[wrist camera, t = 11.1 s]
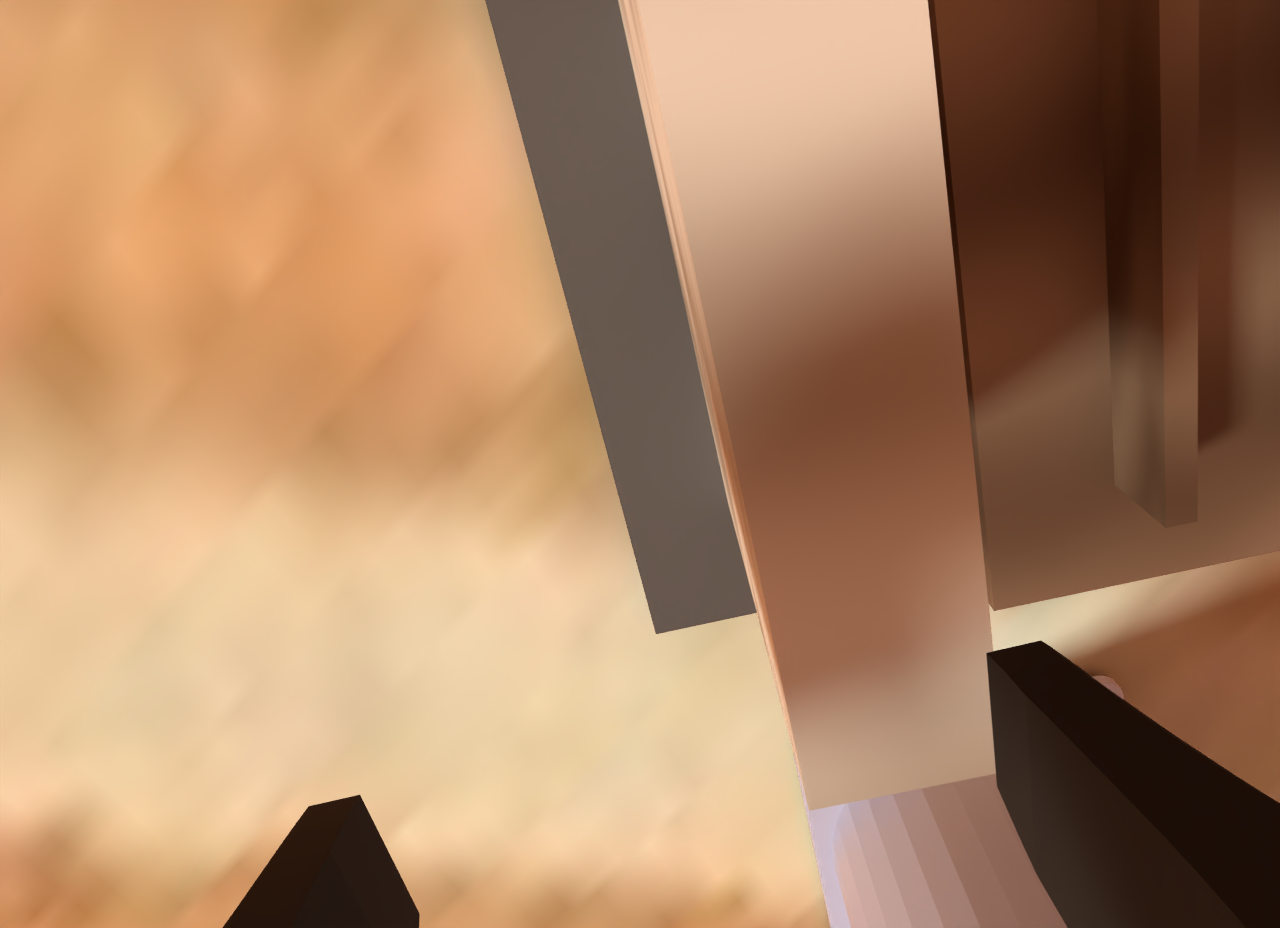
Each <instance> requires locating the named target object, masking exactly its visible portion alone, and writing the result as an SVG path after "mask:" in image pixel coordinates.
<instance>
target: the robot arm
mask: <svg viewBox="0 0 1280 928" xmlns="http://www.w3.org/2000/svg"><path fill="white" fill-rule="evenodd" d="M986 656H987V669H988V681H989V693H990V706H991V718H992V731H993V743H994V756H995V768H996V774H991V775H986V776H981V777H976V778H971V779H966V780H961V781H956V782H951V783H946V784H941V785H936V786H931V787H926V788H921V789H916V790H911V791H906V792H901V793H896V794H891V795H886V796H881V797H876V798H871V799H866V800H861V801H856V802H851V803H846V804H841V805H836V806H831V807H826V808H821V809H816V810H811V811H809V808H808V804H807V801H806V797H805V793H804V789H803V785H802V782H801V778H800V774H799V770H798V766H797V763H796V759H795V763H796V768H797V772H798V777H799V782H800V786H801V791H802V796H803V801H804V805H805V810H806V815H807V819H808V824H809V829H810V833H811V838H812V843H813V847H814V852H815V857H816V862H817V866H818V871H819V876H820V880H821V885H822V890H823V894H824V899H825V904H826V908H827V913H828V918H829V923H830V927H831V928H1280V803H1278V802H1277V801H1275V800H1273V799H1272V798H1270V797H1269V796H1267V795H1265V794H1264V793H1262V792H1261V791H1259V790H1257V789H1256V788H1254V787H1253V786H1251V785H1250V784H1248V783H1246V782H1245V781H1243V780H1242V779H1240V778H1238V777H1237V776H1235V775H1234V774H1232V773H1231V772H1229V771H1228V770H1226V769H1225V768H1223V767H1222V766H1220V765H1219V764H1217V763H1216V762H1214V761H1213V760H1211V759H1210V758H1208V757H1207V756H1205V755H1204V754H1202V753H1201V752H1199V751H1198V750H1196V749H1195V748H1193V747H1192V746H1190V745H1189V744H1187V743H1185V742H1184V741H1182V740H1181V739H1179V738H1178V737H1176V736H1175V735H1174V734H1172V733H1171V732H1169V731H1168V730H1166V729H1165V728H1163V727H1162V726H1160V725H1159V724H1158V723H1156V722H1155V721H1153V720H1152V719H1150V718H1149V717H1147V716H1146V715H1145V714H1143V713H1142V712H1140V711H1139V710H1138V709H1136V708H1135V707H1133V706H1132V705H1131V704H1129V703H1128V702H1126V701H1125V700H1124V695H1123V691H1122V689H1121V688H1120V687H1119V685H1118V684H1117V683H1116V682H1115V681H1114V680H1113V679H1112V678H1111V677H1108V676H1104V675H1102V676H1093V677H1092V676H1090V675H1089V674H1088V673H1086V672H1085V671H1083V670H1082V669H1081V668H1079V667H1078V666H1077V665H1075V664H1074V663H1072V662H1071V661H1070V660H1068V659H1067V658H1066V657H1064V656H1063V655H1061V654H1060V653H1059V652H1057V651H1056V650H1055V649H1053V648H1052V647H1050V646H1049V645H1047V644H1046V643H1044V642H1042V641H1037V642H1033V643H1028V644H1024V645H1020V646H1015V647H1011V648H1006V649H1002V650H997V651H993V652H989V653H986ZM794 758H795V755H794ZM223 928H419V912H418V910H417V908H416V906H415V904H414V902H413V900H412V898H411V896H410V894H409V892H408V890H407V888H406V886H405V884H404V882H403V880H402V878H401V876H400V874H399V872H398V870H397V868H396V866H395V864H394V862H393V860H392V858H391V856H390V854H389V852H388V850H387V848H386V846H385V844H384V842H383V840H382V838H381V836H380V834H379V832H378V830H377V828H376V826H375V824H374V822H373V820H372V818H371V816H370V814H369V812H368V810H367V808H366V806H365V804H364V802H363V800H362V798H361V796H360V795H357V796H353V797H348V798H344V799H339V800H335V801H330V802H326V803H322V804H317V805H313V806H309V807H308V808H307V809H306V811H305V812H304V813H303V815H302V816H301V818H300V819H299V820H298V822H297V823H296V824H295V826H294V827H293V828H292V830H291V831H290V833H289V834H288V835H287V837H286V838H285V840H284V841H283V843H282V844H281V845H280V847H279V848H278V850H277V851H276V853H275V854H274V855H273V857H272V858H271V860H270V861H269V863H268V864H267V865H266V867H265V868H264V870H263V871H262V873H261V874H260V875H259V877H258V878H257V880H256V881H255V883H254V884H253V885H252V887H251V888H250V890H249V891H248V893H247V894H246V896H245V897H244V898H243V900H242V901H241V903H240V904H239V906H238V907H237V908H236V910H235V911H234V913H233V914H232V915H231V917H230V918H229V920H228V921H227V922H226V924H225V925H224V926H223Z"/></svg>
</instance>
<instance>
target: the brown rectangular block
mask: <svg viewBox="0 0 1280 928" xmlns="http://www.w3.org/2000/svg"><path fill="white" fill-rule="evenodd" d="M618 2H619V7H620V11H621V16H622V20H623V25H624V30H625V34H626V39H627V43H628V48H629V52H630V57H631V62H632V66H633V71H634V75H635V80H636V84H637V89H638V94H639V98H640V103H641V107H642V112H643V116H644V121H645V126H646V130H647V135H648V139H649V144H650V148H651V153H652V158H653V162H654V167H655V171H656V176H657V180H658V185H659V190H660V194H661V199H662V203H663V208H664V212H665V217H666V222H667V226H668V231H669V235H670V240H671V244H672V249H673V253H674V258H675V263H676V267H677V272H678V276H679V281H680V285H681V290H682V295H683V299H684V304H685V308H686V313H687V317H688V322H689V327H690V331H691V336H692V340H693V345H694V349H695V354H696V359H697V363H698V368H699V372H700V377H701V381H702V386H703V391H704V395H705V400H706V404H707V409H708V413H709V418H710V423H711V427H712V432H713V436H714V441H715V445H716V450H717V454H718V459H719V464H720V468H721V473H722V477H723V482H724V486H725V491H726V496H727V500H728V505H729V508H730V512H731V516H732V520H733V524H734V527H735V531H736V535H737V539H738V543H739V546H740V550H741V554H742V558H743V562H744V565H745V569H746V573H747V577H748V581H749V584H750V588H751V592H752V596H753V599H754V603H755V607H756V611H757V615H758V618H759V622H760V626H761V630H762V634H763V637H764V641H765V645H766V649H767V653H768V656H769V660H770V664H771V668H772V672H773V675H774V679H775V683H776V687H777V691H778V694H779V698H780V702H781V706H782V709H783V713H784V717H785V721H786V725H787V728H788V732H789V736H790V740H791V744H792V747H793V751H794V755H795V759H796V763H797V766H798V770H799V774H800V778H801V782H802V785H803V789H804V793H805V797H806V801H807V804H808V808H809V811H811V810H816V809H821V808H826V807H831V806H836V805H841V804H846V803H851V802H856V801H861V800H866V799H871V798H876V797H881V796H886V795H891V794H896V793H901V792H906V791H911V790H916V789H921V788H926V787H931V786H936V785H941V784H946V783H951V782H956V781H961V780H966V779H971V778H976V777H981V776H986V775H991V774H996V768H995V756H994V743H993V731H992V718H991V706H990V693H989V681H988V669H987V656H986V653H989V652H993V644H992V634H991V624H990V614H989V604H988V594H987V584H986V574H985V564H984V554H983V544H982V534H981V525H980V515H979V505H978V495H977V485H976V475H975V465H974V455H973V445H972V435H971V425H970V415H969V406H968V396H967V386H966V376H965V366H964V356H963V346H962V336H961V326H960V316H959V306H958V296H957V286H956V277H955V267H954V257H953V247H952V237H951V227H950V217H949V207H948V197H947V187H946V177H945V167H944V158H943V148H942V138H941V128H940V118H939V108H938V98H937V88H936V78H935V68H934V58H933V48H932V38H931V29H930V19H929V9H928V0H618Z"/></svg>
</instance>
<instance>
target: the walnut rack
mask: <svg viewBox="0 0 1280 928" xmlns="http://www.w3.org/2000/svg"><path fill="white" fill-rule="evenodd" d="M928 9H929V19H930V29H931V38H932V48H933V58H934V68H935V78H936V88H937V98H938V108H939V118H940V128H941V138H942V148H943V158H944V167H945V177H946V187H947V197H948V207H949V217H950V227H951V237H952V247H953V257H954V267H955V277H956V286H957V296H958V306H959V316H960V326H961V336H962V346H963V356H964V366H965V376H966V386H967V396H968V406H969V415H970V425H971V435H972V445H973V455H974V465H975V475H976V485H977V495H978V505H979V515H980V525H981V534H982V544H983V554H984V564H985V574H986V584H987V594H988V603H989V604H990V606H991V607H992V608H993V610H994V611H996V610H1001V609H1005V608H1010V607H1015V606H1020V605H1024V604H1029V603H1034V602H1039V601H1043V600H1048V599H1053V598H1058V597H1062V596H1067V595H1072V594H1077V593H1081V592H1086V591H1091V590H1095V589H1100V588H1105V587H1110V586H1114V585H1119V584H1124V583H1129V582H1133V581H1138V580H1143V579H1148V578H1152V577H1157V576H1162V575H1167V574H1171V573H1176V572H1181V571H1186V570H1190V569H1195V568H1200V567H1205V566H1209V565H1214V564H1219V563H1224V562H1228V561H1233V560H1238V559H1243V558H1247V557H1252V556H1257V555H1261V554H1266V553H1271V552H1276V551H1280V0H928Z"/></svg>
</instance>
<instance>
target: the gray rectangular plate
mask: <svg viewBox="0 0 1280 928" xmlns="http://www.w3.org/2000/svg"><path fill="white" fill-rule="evenodd" d="M485 1H486V5H487V8H488V12H489V16H490V19H491V23H492V27H493V31H494V34H495V38H496V42H497V45H498V49H499V53H500V57H501V60H502V64H503V68H504V71H505V75H506V79H507V83H508V86H509V90H510V94H511V97H512V101H513V105H514V109H515V112H516V116H517V120H518V123H519V127H520V131H521V135H522V138H523V142H524V146H525V149H526V153H527V157H528V161H529V164H530V168H531V172H532V175H533V179H534V183H535V187H536V190H537V194H538V198H539V201H540V205H541V209H542V213H543V216H544V220H545V224H546V227H547V231H548V235H549V239H550V242H551V246H552V250H553V253H554V257H555V261H556V265H557V268H558V272H559V276H560V279H561V283H562V287H563V291H564V294H565V298H566V302H567V305H568V309H569V313H570V316H571V320H572V324H573V328H574V331H575V335H576V339H577V342H578V346H579V350H580V354H581V357H582V361H583V365H584V368H585V372H586V376H587V380H588V383H589V387H590V391H591V394H592V398H593V402H594V406H595V409H596V413H597V417H598V420H599V424H600V428H601V432H602V435H603V439H604V443H605V446H606V450H607V454H608V458H609V461H610V465H611V469H612V472H613V476H614V480H615V484H616V487H617V491H618V495H619V498H620V502H621V506H622V510H623V513H624V517H625V521H626V524H627V528H628V532H629V536H630V539H631V543H632V547H633V550H634V554H635V558H636V562H637V565H638V569H639V573H640V576H641V580H642V584H643V588H644V591H645V595H646V599H647V602H648V606H649V610H650V614H651V617H652V621H653V625H654V628H655V632H656V634H659V633H664V632H668V631H673V630H678V629H682V628H687V627H692V626H696V625H701V624H706V623H710V622H715V621H720V620H724V619H729V618H734V617H738V616H743V615H748V614H752V613H757V611H756V607H755V603H754V599H753V596H752V592H751V588H750V584H749V581H748V577H747V573H746V569H745V565H744V562H743V558H742V554H741V550H740V546H739V543H738V539H737V535H736V531H735V527H734V524H733V520H732V516H731V512H730V508H729V505H728V500H727V496H726V491H725V486H724V482H723V477H722V473H721V468H720V464H719V459H718V454H717V450H716V445H715V441H714V436H713V432H712V427H711V423H710V418H709V413H708V409H707V404H706V400H705V395H704V391H703V386H702V381H701V377H700V372H699V368H698V363H697V359H696V354H695V349H694V345H693V340H692V336H691V331H690V327H689V322H688V317H687V313H686V308H685V304H684V299H683V295H682V290H681V285H680V281H679V276H678V272H677V267H676V263H675V258H674V253H673V249H672V244H671V240H670V235H669V231H668V226H667V222H666V217H665V212H664V208H663V203H662V199H661V194H660V190H659V185H658V180H657V176H656V171H655V167H654V162H653V158H652V153H651V148H650V144H649V139H648V135H647V130H646V126H645V121H644V116H643V112H642V107H641V103H640V98H639V94H638V89H637V84H636V80H635V75H634V71H633V66H632V62H631V57H630V52H629V48H628V43H627V39H626V34H625V30H624V25H623V20H622V16H621V11H620V7H619V2H618V0H485Z"/></svg>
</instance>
